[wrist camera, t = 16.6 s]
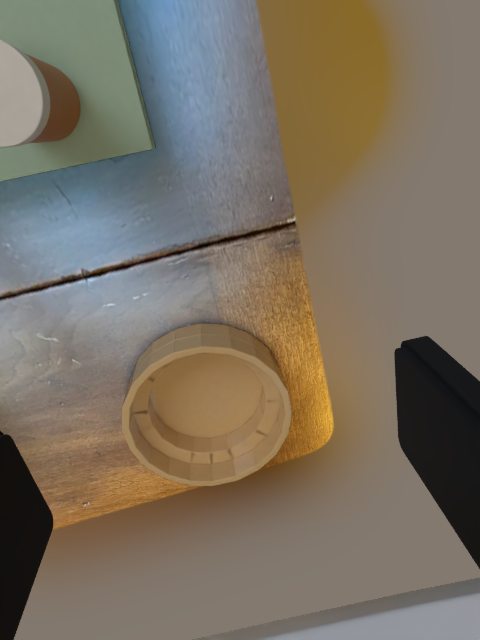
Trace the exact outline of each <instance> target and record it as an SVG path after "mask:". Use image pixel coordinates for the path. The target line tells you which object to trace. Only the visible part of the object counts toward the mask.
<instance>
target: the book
mask: <svg viewBox="0 0 480 640" xmlns="http://www.w3.org/2000/svg"><path fill="white" fill-rule="evenodd" d="M0 40H2V41H5V42H7V43H9V44H11V45H13V46H15V47H16V48H18V49H20V50H21V51H22V52H24V53H25V54H28V55H30V56H32V57H34V58H36V59H39V60H41V61H43V62H45V63H47V64H50V65H52V66H54V67H56V68H57V69H59V70H60V71H62V72H63V73H64V74H65V75H66V76H67V77H68V78H69V79H70V81H71V82H72V84H73V85H74V87H75V89H76V91H77V94H78V96H79V100H80V117H79V121H78V123H77V126H76V127H75V129H74V130H73V132H72V133H71V134H69V135H68V136H67V137H65V138H63V139H61V140H58V141H53V142H41V143H29V144H25V145H21V146H16V147H7V148H0V182H1V181H6V180H10V179H15V178H20V177H24V176H29V175H34V174H39V173H43V172H48V171H53V170H57V169H62V168H67V167H71V166H76V165H81V164H86V163H90V162H95V161H100V160H104V159H109V158H114V157H118V156H123V155H128V154H132V153H137V152H142V151H147V150H151V149H153V148H156V147H155V143H154V140H153V136H152V132H151V128H150V124H149V120H148V116H147V112H146V108H145V104H144V101H143V97H142V93H141V89H140V85H139V81H138V77H137V73H136V69H135V65H134V62H133V58H132V54H131V50H130V46H129V42H128V38H127V34H126V30H125V27H124V23H123V19H122V15H121V11H120V7H119V3H118V0H0Z"/></svg>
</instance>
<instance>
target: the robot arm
mask: <svg viewBox="0 0 480 640" xmlns="http://www.w3.org/2000/svg"><path fill="white" fill-rule="evenodd" d="M395 376H396V398H397V417H398V419H397V420H398V438H399V442H400V445H401V448H402V450H403V452H404V453H405V455H406V457H407V458H408V460H409V461H410V463H411V464H412V466H413V467H414V469H415V470H416V472H417V473H418V475H419V476H420V478H421V480H422V481H423V483H424V484H425V486H426V487H427V489H428V490H429V492H430V493H431V495H432V496H433V498H434V499H435V501H436V503H437V504H438V506H439V507H440V509H441V510H442V512H443V513H444V515H445V516H446V518H447V519H448V521H449V523H450V524H451V526H452V527H453V529H454V530H455V532H456V533H457V535H458V536H459V538H460V539H461V541H462V542H463V544H464V545H465V547H466V549H467V550H468V552H469V553H470V555H471V556H472V558H473V559H474V561H475V562H476V564H477V565H478V567H479V569H480V381H478V380H477V379H476V378H475V377H474V376H473V375H472V374H471V373H469V372H468V371H467V370H466V369H465V368H463V366H462V365H460V364H459V363H458V362H457V361H456V360H455V359H454V358H452V357H451V356H450V355H449V354H448V353H447V352H446V351H444V350H443V349H442V348H441V347H440V346H439V345H438V344H437V343H435V342H434V341H433V340H432V339H431V338H430V337H428V336H424V337H420V338H415V339H410V340H406V341H403V342H402V344H401V348H397V349H396V350H395ZM52 529H53V516H52V513H51V511H50V509H49V507H48V505H47V503H46V501H45V500H44V498H43V496H42V494H41V492H40V490H39V488H38V486H37V484H36V483H35V481H34V479H33V477H32V475H31V473H30V471H29V469H28V467H27V466H26V464H25V462H24V460H23V458H22V456H21V454H20V452H19V450H18V449H17V447H16V445H15V443H14V441H13V439H12V438H11V436H9V435H4V434H3V433H2V432H1V431H0V640H13V639H14V637H15V634H16V631H17V628H18V625H19V622H20V619H21V617H22V614H23V611H24V608H25V605H26V603H27V600H28V597H29V594H30V591H31V588H32V586H33V583H34V580H35V577H36V574H37V572H38V568H39V566H40V563H41V560H42V558H43V555H44V552H45V549H46V546H47V543H48V540H49V537H50V535H51V532H52ZM194 640H480V578H476V579H471V580H466V581H461V582H456V583H451V584H446V585H441V586H436V587H431V588H426V589H421V590H416V591H411V592H407V593H401V594H397V595H393V596H388V597H383V598H379V599H375V600H370V601H365V602H361V603H356V604H351V605H347V606H342V607H338V608H333V609H329V610H324V611H320V612H315V613H311V614H306V615H301V616H297V617H292V618H288V619H283V620H278V621H274V622H270V623H265V624H261V625H257V626H252V627H247V628H243V629H238V630H234V631H229V632H225V633H221V634H216V635H212V636H207V637H203V638H198V639H194Z"/></svg>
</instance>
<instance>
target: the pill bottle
mask: <svg viewBox="0 0 480 640" xmlns="http://www.w3.org/2000/svg"><path fill="white" fill-rule="evenodd" d="M79 117H80V100H79V96H78V94H77V91H76V89H75V87H74V85H73V84H72V82H71V81H70V79H69V78H68V77H67V76H66V75H65V74H64V73H63V72H62V71H60V70H59V69H57V68H56V67H54V66H52V65H50V64H47V63H45V62H43V61H41V60H39V59H36V58H34V57H32V56H30V55H28V54H25V53H24V52H22V51H21V50H20V49H18V48H16V47H15V46H13V45H11V44H9V43H7V42H5V41H2V40H0V148H7V147H16V146H21V145H25V144H29V143H41V142H53V141H58V140H61V139H63V138H65V137H67V136H68V135H69V134H71V133H72V132H73V130H74V129H75V127H76V126H77V123H78V121H79Z"/></svg>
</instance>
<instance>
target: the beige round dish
mask: <svg viewBox="0 0 480 640" xmlns="http://www.w3.org/2000/svg"><path fill="white" fill-rule="evenodd" d="M291 417H292V410H291V405H290V399H289V393H288V390H287V388H286V385H285V382H284V379H283V376H282V374H281V371H280V368H279V366H278V364H277V362H276V361H275V359H274V357H273V356H272V354H271V352H270V351H269V349H268V348H267V347H266V346H264V345H263V344H262V343H261V342H259V341H258V340H257V339H256V338H254V337H253V336H252V335H251V334H249V333H246V332H244V331H241V330H239V329H236V328H233V327H231V326H228V325H218V324H204V323H202V324H196V325H192V326H187V327H182V328H178V329H175V330H173V331H171V332H170V333H168V334H166V335H164V336H162V337H161V338H159V339H157V340H155V341H154V342H153V343H152V344H151V345H150V346H149V347H148V348H147V349H146V350H145V352H144V353H143V354H142V355H141V356H140V357H139V358H138V360H137V362H136V365H135V367H134V369H133V372H132V374H131V376H130V379H129V383H128V387H127V391H126V395H125V398H124V402H123V406H122V431H123V433H124V436H125V439H126V441H127V444H128V446H129V449H130V450H131V452H132V453H133V454H134V455H135V456H136V457H137V458H138V460H139V461H140V462H141V463H142V464H143V465H144V466H145V467H146V468H148V469H149V470H151V471H153V472H154V473H156V474H158V475H159V476H161V477H163V478H164V479H167V480H171V481H175V482H178V483H182V484H186V485H193V486H213V485H214V486H215V485H219V484H223V483H228V482H233V481H237V480H239V479H241V478H243V477H245V476H247V475H249V474H252V473H254V472H256V471H258V470H259V469H260V468H261V467H263V466H264V465H265V464H266V463H267V462H268V461H269V460H270V459H272V458H273V457H274V456H275V455H276V454H277V452H278V451H279V449H280V447H281V446H282V444H283V442H284V441H285V439H286V437H287V435H288V432H289V427H290V422H291Z"/></svg>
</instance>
